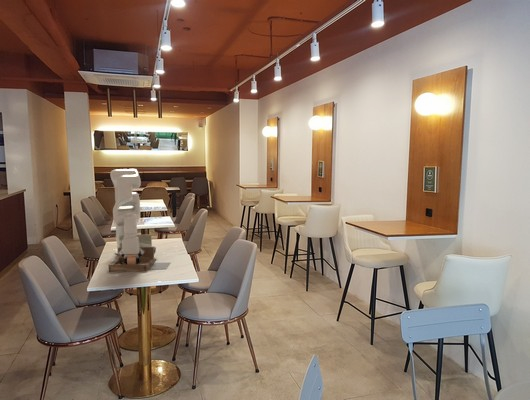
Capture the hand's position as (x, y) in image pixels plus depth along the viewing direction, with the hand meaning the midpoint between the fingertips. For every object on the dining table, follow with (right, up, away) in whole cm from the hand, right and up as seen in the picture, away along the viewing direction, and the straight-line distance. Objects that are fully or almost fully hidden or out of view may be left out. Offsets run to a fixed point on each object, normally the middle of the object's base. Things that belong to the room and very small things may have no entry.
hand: (132, 264), depth 242 cm
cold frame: (0, -2, 0) cm, 2 cm away
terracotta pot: (0, -2, 0) cm, 2 cm away
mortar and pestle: (+4, +1, +20) cm, 21 cm away
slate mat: (+17, -1, +1) cm, 17 cm away
